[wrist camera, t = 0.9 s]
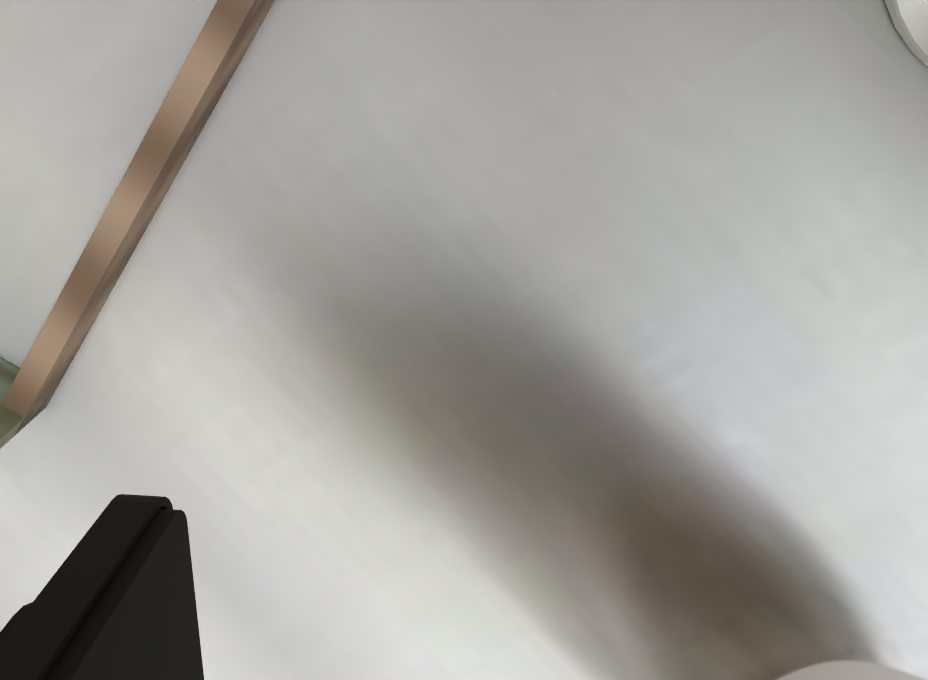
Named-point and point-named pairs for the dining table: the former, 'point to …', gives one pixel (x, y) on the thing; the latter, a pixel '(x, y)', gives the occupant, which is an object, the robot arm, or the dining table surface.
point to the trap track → (130, 210)
